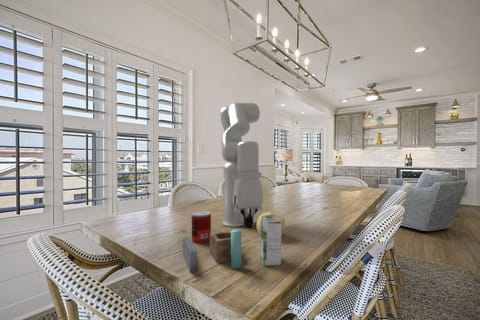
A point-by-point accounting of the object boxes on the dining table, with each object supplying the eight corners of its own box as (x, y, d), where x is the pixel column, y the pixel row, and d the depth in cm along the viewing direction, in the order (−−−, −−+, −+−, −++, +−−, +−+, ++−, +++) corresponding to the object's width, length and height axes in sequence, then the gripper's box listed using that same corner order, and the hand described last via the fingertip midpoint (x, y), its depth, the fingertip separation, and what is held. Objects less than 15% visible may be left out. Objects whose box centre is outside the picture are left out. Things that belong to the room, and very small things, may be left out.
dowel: (239, 263, 74) (238, 228, 74) (243, 267, 71) (242, 231, 71) (229, 264, 73) (229, 230, 73) (233, 269, 70) (233, 233, 70)
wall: (188, 253, 82) (188, 236, 82) (196, 271, 69) (196, 251, 69) (182, 254, 81) (182, 237, 81) (190, 272, 68) (190, 252, 68)
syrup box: (260, 258, 78) (260, 215, 78) (277, 257, 78) (277, 214, 78) (263, 266, 72) (263, 219, 72) (282, 265, 73) (282, 219, 72)
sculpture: (260, 242, 92) (260, 215, 92) (254, 232, 104) (254, 208, 104) (287, 240, 94) (287, 214, 94) (278, 231, 106) (278, 208, 106)
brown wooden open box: (231, 249, 85) (231, 230, 85) (239, 258, 77) (239, 237, 77) (209, 253, 82) (209, 233, 82) (216, 262, 74) (216, 241, 74)
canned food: (213, 237, 98) (213, 211, 98) (205, 243, 91) (205, 216, 91) (198, 235, 101) (197, 210, 101) (188, 241, 93) (188, 214, 93)
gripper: (261, 175, 89) (262, 223, 89) (224, 176, 83) (225, 227, 83) (271, 176, 82) (272, 228, 82) (232, 177, 76) (232, 233, 76)
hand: (248, 227), depth 82 cm, fingers closed
